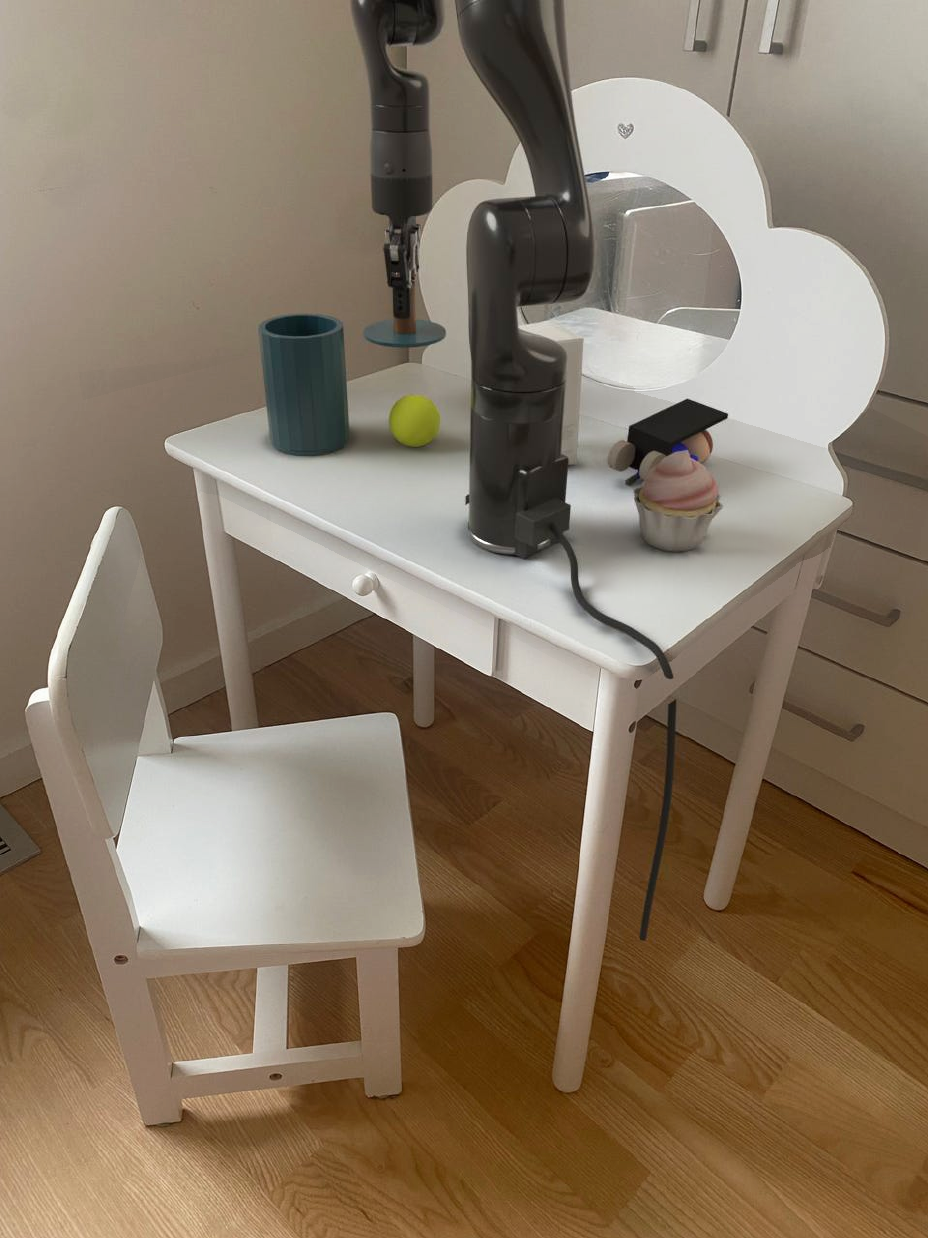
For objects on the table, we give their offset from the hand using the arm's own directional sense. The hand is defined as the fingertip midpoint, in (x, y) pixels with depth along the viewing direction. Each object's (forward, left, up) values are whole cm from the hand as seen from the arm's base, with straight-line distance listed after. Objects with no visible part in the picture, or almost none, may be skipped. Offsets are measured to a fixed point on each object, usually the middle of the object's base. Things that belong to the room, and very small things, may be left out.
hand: (404, 312), depth 126 cm
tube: (-1, +17, -13) cm, 21 cm away
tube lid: (0, 0, -3) cm, 3 cm away
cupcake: (-48, +4, -13) cm, 50 cm away
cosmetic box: (-24, -1, -13) cm, 27 cm away
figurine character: (-38, -8, -13) cm, 41 cm away
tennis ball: (-11, +8, -10) cm, 17 cm away
